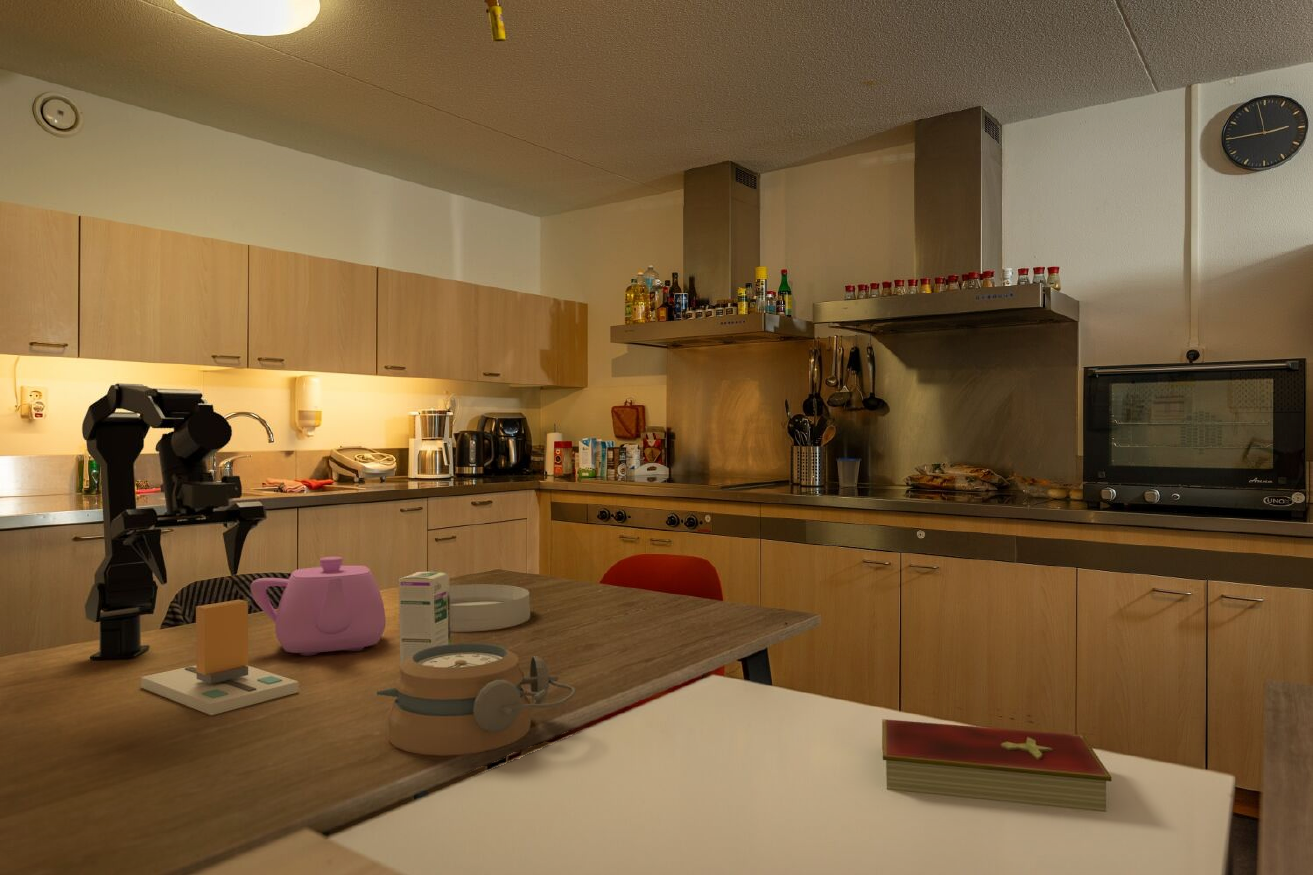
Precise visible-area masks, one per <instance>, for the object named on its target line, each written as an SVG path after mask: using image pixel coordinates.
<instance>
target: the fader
mask: <svg viewBox="0 0 1313 875" xmlns="http://www.w3.org/2000/svg"><path fill="white" fill-rule="evenodd" d="M195 635H196V636H195V638H196V639H195V644H196V645H195V648H196V649H195V650H196V652H195V653H196V654H195V665H196V672H197V679H198V680H201V681H204V682H207V683H210V684H212V683H217V682H221V681H225V680H229V679H234V678H238V677H242V676H246V675H248V666H249V601H247V600H243V599H235V600H229V601H223V602H216V603H211V604H203V605H197V606H195ZM246 665H247V666H246Z"/></svg>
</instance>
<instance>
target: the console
mask: <svg viewBox="0 0 1313 875" xmlns="http://www.w3.org/2000/svg"><path fill="white" fill-rule="evenodd" d="M246 666H248V675H246V676H242V677H238V678H234V679H229V680H225V681H221V682H217V683H212V684H210V683H207V682H204V681H201V680H198V679H197V672H196V664H195V665H191V666H186V667H181V668H177V669H173V670H167V671H163V672H159V673H153V674H149V675H145V676H140V688H141V689H144V690H146V691H149V692H151V693H154V694H156V695H159V696H161V697H164V698H167V699H169V700H171V701H174V702H176V703H179V704H182V705H184V706H186V707H188V708H191V709H194V710H197V711H199V712H202V713H204V714H206V715H208V716H209V715H210V716H214V715H217V714H218V715H219V714H222V713H226V712H230V711H232V710H236V709H241V708H245V707H248V706H251V705H255V704H259V703H263V702H267V701H270V700H274V699H278V698H282V697H285V696H290V695H293V694H297V693H299V680H294V679H291V678H288V677H284V676H282V675H279V674H275V673H273V672H270V671H265V670H262V669H261V668H260V669H259V668H257V667H253V666H250V665H246Z"/></svg>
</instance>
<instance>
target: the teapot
mask: <svg viewBox="0 0 1313 875" xmlns="http://www.w3.org/2000/svg"><path fill="white" fill-rule="evenodd" d="M343 560H344V558H343V557H341V556H325V557H321V558H320V559H319V563H320V565H321V566H315V567H307V568H306V567H305V568H298V569H295V570H294V571H293V572H291V574H290V576H289V578H278V577H262V578H258V579H255V580H253V581H252V582H251V584H250V593H251V596H252V599H253V600H254V601H255V603H256V604H257V606H259V608H260V609H261V610H262V611H263V613H265V614H266V616H268V617H269V618H270V620H272V621H273V623H275V629H274V630H275V635H276V638H277V640H278V642H279V644H280V646H281V647H282V649H283V650H284V652H287V653H291V654H293V653H294V654H295V653H296V654H300V656H314V655H318V654H320V653H325V652H327V653H328V652H336V651H347V652H357V651H362V650H364V648H365V647H366V648H367V647H371V646H374V645H376V644H378V643H379V641H380V639H381V638H382V636H383V634H384V631H385V629H386V626H387V625H386V621H387V620H386V613H385V612H386V611H385V605H384V601H383V598H382V594H381V591H380V589H379V586H378V584H377V581H376V579H375V577H374V574H373V573H372V571H371V570H370V568H369V567H368V566H366V565H342V564H343ZM270 587H284V590H283V592H282V595H281V598H280V600H279V604H278V607H277V611H276V609H275V608H274V606H273V605H272V603H271V601H270V599H269V597H268V593H267V589H268V588H270Z"/></svg>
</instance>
